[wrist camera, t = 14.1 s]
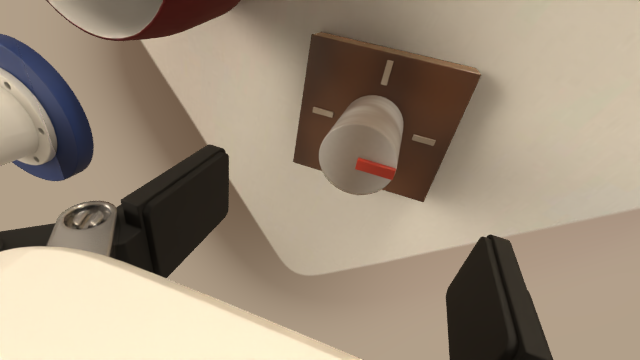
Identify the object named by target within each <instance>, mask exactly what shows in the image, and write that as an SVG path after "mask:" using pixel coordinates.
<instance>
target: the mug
mask: <svg viewBox="0 0 640 360" xmlns="http://www.w3.org/2000/svg"><path fill="white" fill-rule="evenodd" d="M46 1H47V2H48V3H49V4H50V5H51V6H52V7H53V8H54V9H55V10H56V11H57V12H58V13H59V14H61V15H62V16H63V17H64V18H65V19H66V20H68V21H69V22H70V23H72V24H73V25H75V26H76V27H78V28H79V29H81V30H83V31H84V32H86V33H88V34H91V35H93V36H96V37H99V38H102V39H106V40H114V41H126V40H141V39H150V38H159V37H165V36H170V35H173V34H177V33H180V32H183V31H185V30H188V29H190V28H193V27H195V26H197V25H200V24H202V23H204V22H207V21H209V20H211V19H214V18H216V17H218V16H221V15H223V14H225V13H227V12H228V11H230V10H231V9H232V8H234V7H235V6H236V5H237V4H238V3H239V2H240V1H241V0H46Z"/></svg>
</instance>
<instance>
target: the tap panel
mask: <svg viewBox="0 0 640 360" xmlns="http://www.w3.org/2000/svg"><path fill="white" fill-rule="evenodd" d="M480 76H481V74H480V72H479V71H478V70H477V69H476V68H473V67H469V66H465V65H460V64H456V63H452V62H448V61H443V60H439V59H435V58H430V57H426V56H422V55H418V54H413V53H409V52H405V51H401V50H396V49H392V48H388V47H383V46H379V45H375V44H371V43H366V42H362V41H358V40H353V39H349V38H345V37H341V36H336V35H332V34H328V33H323V32H319V33H316V34H312V35H311V42H310V49H309V56H308V63H307V70H306V77H305V84H304V91H303V98H302V105H301V112H300V119H299V126H298V133H297V140H296V147H295V153H294V160H293V162H295V163H298V164H301V165H305V166H308V167H311V168H314V169H318V170H321V171H322V169H321V166H320V162H319V150H320V146H321V144H322V141H323V140H324V138H325V137H326V135H327V134H328V133H329V131H330V130H331V129H332V127H333V126H334V125H335V123H336V122H337V121H338V119H339V118H340V117H341V115H342V114H343V113H344V111H345V110H346V109H347V107H348V106H349V105H350V104H351V103H352V102H353V101H355V100H356V99H358V98H360V97H363V96H367V95H377V96H381V97H384V98H386V99H388V100H390V101H391V102H393V103H394V104H395V105H396V106H397V107H398V109H399V110H400V112H401V115H402V118H403V133H402V139H401V146H400V152H399V158H398V164H397V169H396V173H395V175H394V177H393V180H391V181H390V183H389V184H388V185H387V186H385V187H384V188H383V189H382V190H386V191H389V192H392V193H395V194H399V195H402V196H405V197H408V198H411V199H415V200H418V201H421V202H424V200H425V197H426V195H427V193H428V191H429V189H430V186H431V184H432V182H433V180H434V178H435V175H436V173H437V171H438V169H439V167H440V164H441V162H442V160H443V158H444V156H445V153H446V151H447V149H448V147H449V145H450V142H451V140H452V138H453V136H454V134H455V131H456V129H457V127H458V125H459V123H460V120H461V118H462V116H463V114H464V112H465V109H466V107H467V105H468V103H469V101H470V98H471V96H472V94H473V92H474V90H475V87H476V85H477V83H478V81H479V79H480Z"/></svg>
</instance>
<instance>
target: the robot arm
mask: <svg viewBox="0 0 640 360" xmlns="http://www.w3.org/2000/svg"><path fill="white" fill-rule="evenodd" d="M56 152H57V137H56V134H55V130H54V127H53V125H52V123H51V120H50V118H49V116H48V115H47V113H46V111H45V109H44V108H43V107H42V105H41V104H40V102H39V101H38V99H37V98H36V97H35V96H34V95H33V94H32V92H31V91H30V90H29V89H28V88H27V87H26V86H25V85H24V84H23V83H22V82H21V81H19V80H18V79H17V78H16V77H14V76H13V75H12V74H10V73H9V72H7V71H5V70H4V69H2V68H0V166H2V165H5V164H7V163H10V162H13V161H15V160H18V161H21V162H23V163H26V164H30V165H41V164H44V163H46V162H48V161H50V160H52V159H53V158H54V157H55V154H56ZM228 192H229V156H228V154H226V152H225V150H224V149H223V148H219V147H216V146H213V145H207V146H205V147H204V148H202V149H200V150H199V151H197V152H196V153H194V154H193V155H191V156H190V157H188V158H186V159H185V160H183V161H182V162H180V163H178V164H177V165H175V166H174V167H172V168H171V169H169V170H167V171H166V172H164V173H163V174H161V175H160V176H158V177H156V178H155V179H153V180H151V181H150V182H148V183H147V184H145V185H144V186H142V187H141V188H139V189H137V190H136V191H134V192H132V193H131V194H129V195H128V196H126V197H125V198H123V199H121V203H122V204H121V205H120V206H118V207H117V208H116V207H115V206H114V205H113V204H111V203H109V202H104V201H90V202H84V203H80V204H77V205H74V206H72V207H70V208H68V209H67V210H65V211H64V212H63V213H61V215H60V216H59V217H58V219H57V221H56V223H55V224H48V225H41V226H35V227H28V228H21V229H15V230H8V231H1V232H0V360H362V359H360V358H357V357H355V356H353V355H351V354H348V353H346V352H343V351H341V350H339V349H336V348H334V347H332V346H329V345H327V344H324V343H322V342H319V341H317V340H315V339H312V338H310V337H308V336H305V335H303V334H300V333H298V332H296V331H293V330H291V329H288V328H286V327H284V326H281V325H279V324H276V323H274V322H271V321H269V320H267V319H264V318H262V317H259V316H257V315H255V314H252V313H250V312H247V311H245V310H242V309H240V308H237V307H235V306H233V305H230V304H228V303H225V302H223V301H221V300H218V299H216V298H213V297H211V296H208V295H206V294H203V293H201V292H198V291H196V290H194V289H191V288H188V287H186V286H184V285H181V284H178V283H176V282H174V281H172V280H169V279H167V277H168V276H169V275H170V274H171V273H172V272H173V271H174V270H175V269H176V268H177V267H178V266H179V265H180V264H181V263H182V261H183V260H184V259H185V258H186V257H187V256H188V255H189V254H190V253H191V252H192V251H193V250H194V249H195V248H196V247H197V246H198V245H199V244H200V243H201V242H202V241H203V240H204V239H205V238H206V236H207V235H208V234H209V233H210V232H211V231H212V230H213V229H214V228H215V227H216V226H217V225H218V224H219V223H220V222H221V221H222V220H223V219H224V218H225V216H226V215H227V212H228V196H229V194H228ZM446 306H447V322H448V337H449V338H448V339H449V355H450V360H553V358H552V355H551V352H550V350H549V347H548V344H547V341H546V338H545V335H544V332H543V330H542V327H541V324H540V321H539V319H538V315H537V313H536V310H535V307H534V304H533V301H532V298H531V296H530V294H529V292H528V290H527V288H526V285H525V283H524V279H523V277H522V274H521V271H520V268H519V265H518V262H517V259H516V257H515V254H514V251H513V248H512V245H511V243H510V241H509V240H506V239H503V238H500V237H497V236H494V235H488V236H487V237H481V238H480V239H479V240H478V242H477V243H476V245H475V247H474V248H473V250H472V251H471V253H470V254H469V256H468V258H467V259H466V261H465V262H464V264H463V265H462V267H461V269H460V270H459V272H458V273H457V275H456V276H455V278H454V280H453V281H452V283H451V284H450V286H449V287H448V290H447V294H446Z"/></svg>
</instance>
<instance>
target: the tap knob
mask: <svg viewBox="0 0 640 360" xmlns="http://www.w3.org/2000/svg"><path fill="white" fill-rule="evenodd" d="M402 133H403V118H402V115H401V112H400V110H399V109H398V107H397V106H396V105H395V104H394V103H393V102H391V101H390V100H388V99H386V98H384V97H381V96H377V95H367V96H363V97H360V98H358V99H356V100H355V101H353V102H352V103H351V104H350V105H349V106H348V107H347V109H346V110H345V111H344V113H343V114H342V115H341V117H340V118H339V119H338V121H337V122H336V123H335V125H334V126H333V127H332V129H331V130H330V131H329V133H328V134H327V135H326V137H325V138H324V140H323V141H322V144H321V146H320V150H319V162H320V166H321V169H322V172H323V173H324V175H325V177H326V178H327V179H328V181H329V182H330V183H331V184H333V185H334V186H335V187H337V188H338V189H340V190H342V191H344V192H347V193H350V194H355V195H367V194H372V193H375V192H377V191H379V190H381V189H383V188H384V187H385V186H387V185H388V184H389V183H390V181H391V180H393V177H394V175H395V173H396V169H397V164H398V158H399V152H400V146H401V139H402Z"/></svg>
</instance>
